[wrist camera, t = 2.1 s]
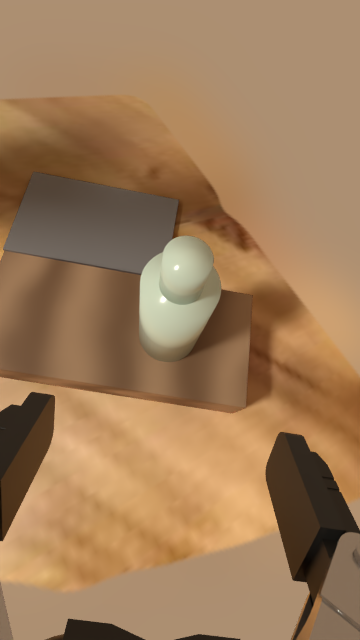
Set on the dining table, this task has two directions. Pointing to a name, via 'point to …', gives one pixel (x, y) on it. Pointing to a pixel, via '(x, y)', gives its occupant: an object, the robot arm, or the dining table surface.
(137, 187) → the dining table surface
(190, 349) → the celadon bottle
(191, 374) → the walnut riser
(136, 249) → the charcoal mat
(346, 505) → the robot arm
